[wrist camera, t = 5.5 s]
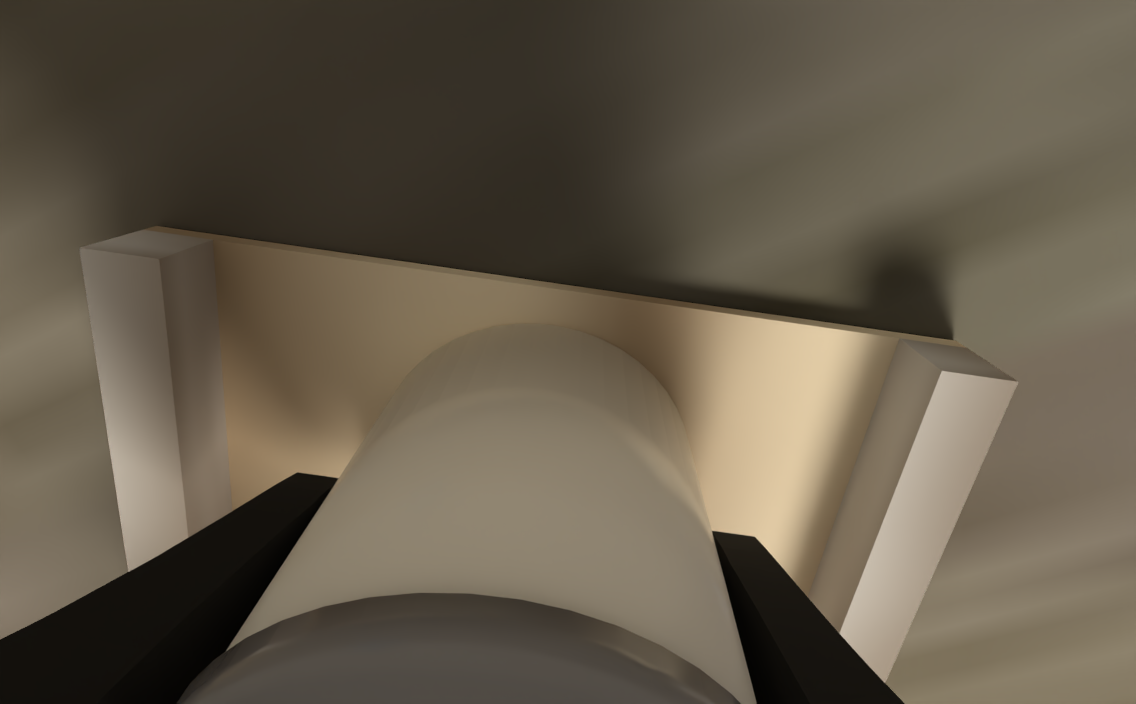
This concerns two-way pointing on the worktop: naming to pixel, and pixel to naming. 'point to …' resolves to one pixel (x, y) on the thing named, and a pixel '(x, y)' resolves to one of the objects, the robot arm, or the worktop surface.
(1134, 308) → the worktop surface
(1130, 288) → the worktop surface
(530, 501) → the jar
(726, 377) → the lane
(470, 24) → the worktop surface
